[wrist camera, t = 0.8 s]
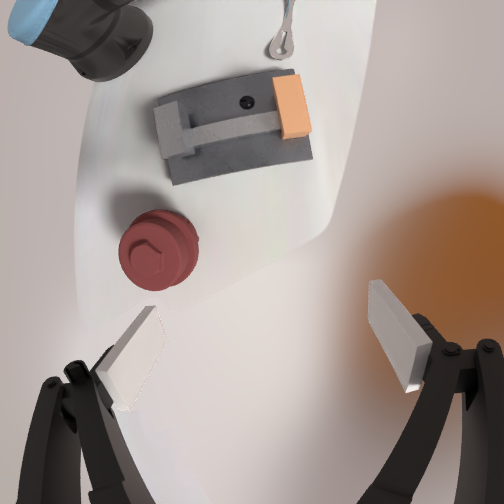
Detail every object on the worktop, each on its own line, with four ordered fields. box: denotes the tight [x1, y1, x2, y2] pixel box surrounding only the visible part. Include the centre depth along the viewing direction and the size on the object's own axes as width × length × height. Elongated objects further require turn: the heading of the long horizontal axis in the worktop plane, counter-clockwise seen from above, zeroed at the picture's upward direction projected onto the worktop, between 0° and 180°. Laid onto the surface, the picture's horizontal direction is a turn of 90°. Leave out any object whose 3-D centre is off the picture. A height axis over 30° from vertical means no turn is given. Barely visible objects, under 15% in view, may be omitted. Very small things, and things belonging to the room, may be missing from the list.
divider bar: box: [153, 101, 281, 159], centre depth 30 cm, size 6×18×6 cm, turn 100°
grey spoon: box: [269, 0, 295, 60], centre depth 29 cm, size 20×4×5 cm
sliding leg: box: [272, 74, 312, 140], centre depth 29 cm, size 7×3×6 cm, turn 10°
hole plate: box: [158, 69, 313, 186], centre depth 34 cm, size 13×19×3 cm
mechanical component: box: [119, 210, 199, 291], centre depth 35 cm, size 12×10×10 cm
